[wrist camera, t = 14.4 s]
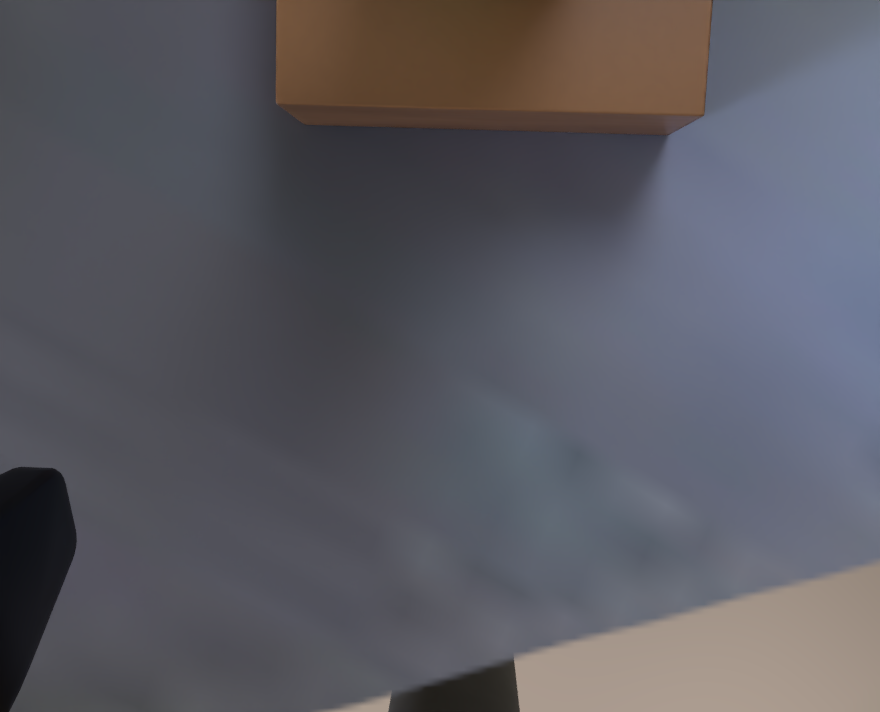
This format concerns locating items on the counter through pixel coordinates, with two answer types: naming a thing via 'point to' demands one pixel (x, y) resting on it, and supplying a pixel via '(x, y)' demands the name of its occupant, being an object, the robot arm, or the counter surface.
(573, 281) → the counter surface
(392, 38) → the walnut block
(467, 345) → the counter surface
